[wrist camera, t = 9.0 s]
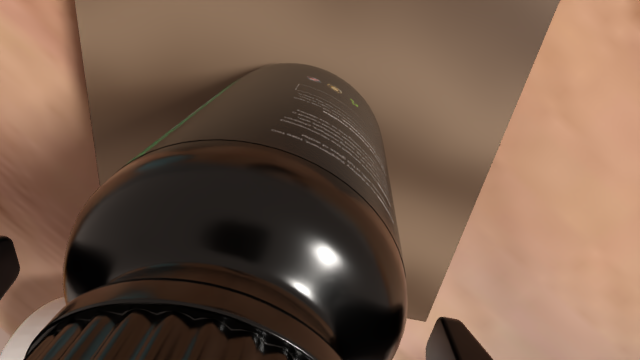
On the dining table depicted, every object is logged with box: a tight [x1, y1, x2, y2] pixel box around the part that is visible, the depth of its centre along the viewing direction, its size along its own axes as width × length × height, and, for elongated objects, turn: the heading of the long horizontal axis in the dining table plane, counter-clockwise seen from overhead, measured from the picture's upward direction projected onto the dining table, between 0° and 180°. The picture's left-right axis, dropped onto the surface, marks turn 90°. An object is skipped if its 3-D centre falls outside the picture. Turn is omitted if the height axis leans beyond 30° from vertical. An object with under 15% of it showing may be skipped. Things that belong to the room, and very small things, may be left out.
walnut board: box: [75, 0, 560, 322], centre depth 16 cm, size 16×16×2 cm
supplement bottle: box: [23, 63, 408, 360], centre depth 10 cm, size 7×7×12 cm
